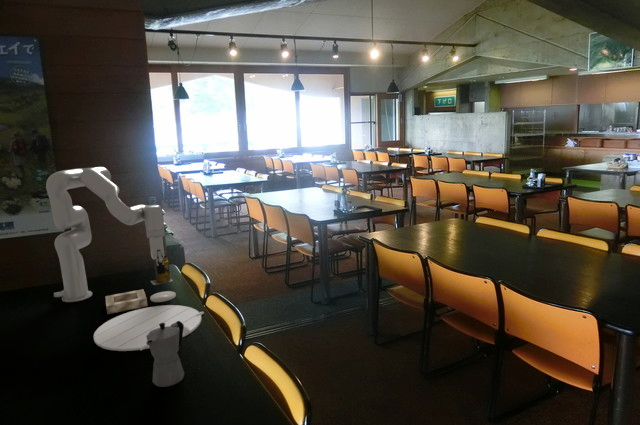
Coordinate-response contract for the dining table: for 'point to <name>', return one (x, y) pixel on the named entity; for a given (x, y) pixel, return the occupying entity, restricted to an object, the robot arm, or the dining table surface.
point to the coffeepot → (166, 354)
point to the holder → (126, 301)
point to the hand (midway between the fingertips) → (160, 271)
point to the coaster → (163, 296)
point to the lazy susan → (143, 326)
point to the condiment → (165, 276)
